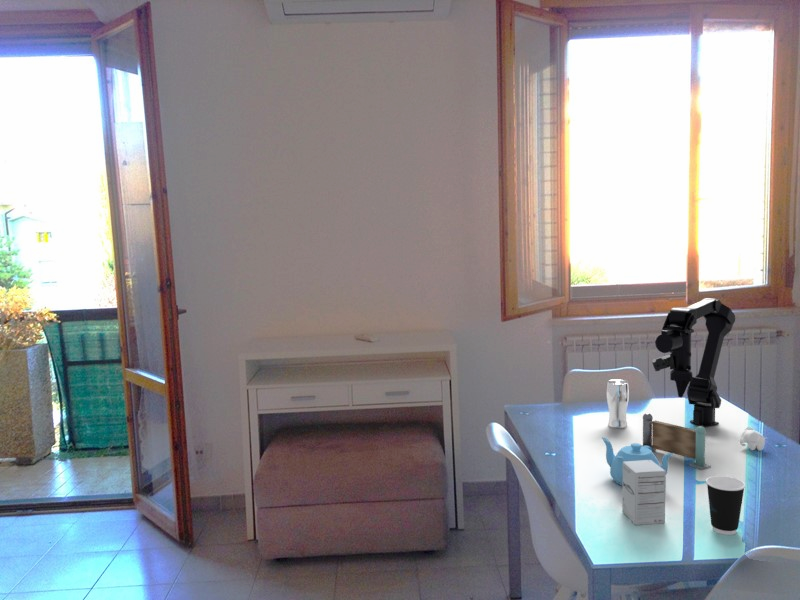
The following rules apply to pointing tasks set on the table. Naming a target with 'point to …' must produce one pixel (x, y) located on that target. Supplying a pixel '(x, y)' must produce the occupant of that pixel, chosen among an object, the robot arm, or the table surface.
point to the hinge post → (647, 430)
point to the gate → (674, 439)
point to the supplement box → (643, 492)
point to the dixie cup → (725, 503)
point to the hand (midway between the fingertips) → (680, 396)
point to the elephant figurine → (752, 439)
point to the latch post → (700, 449)
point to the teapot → (630, 458)
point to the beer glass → (617, 403)
